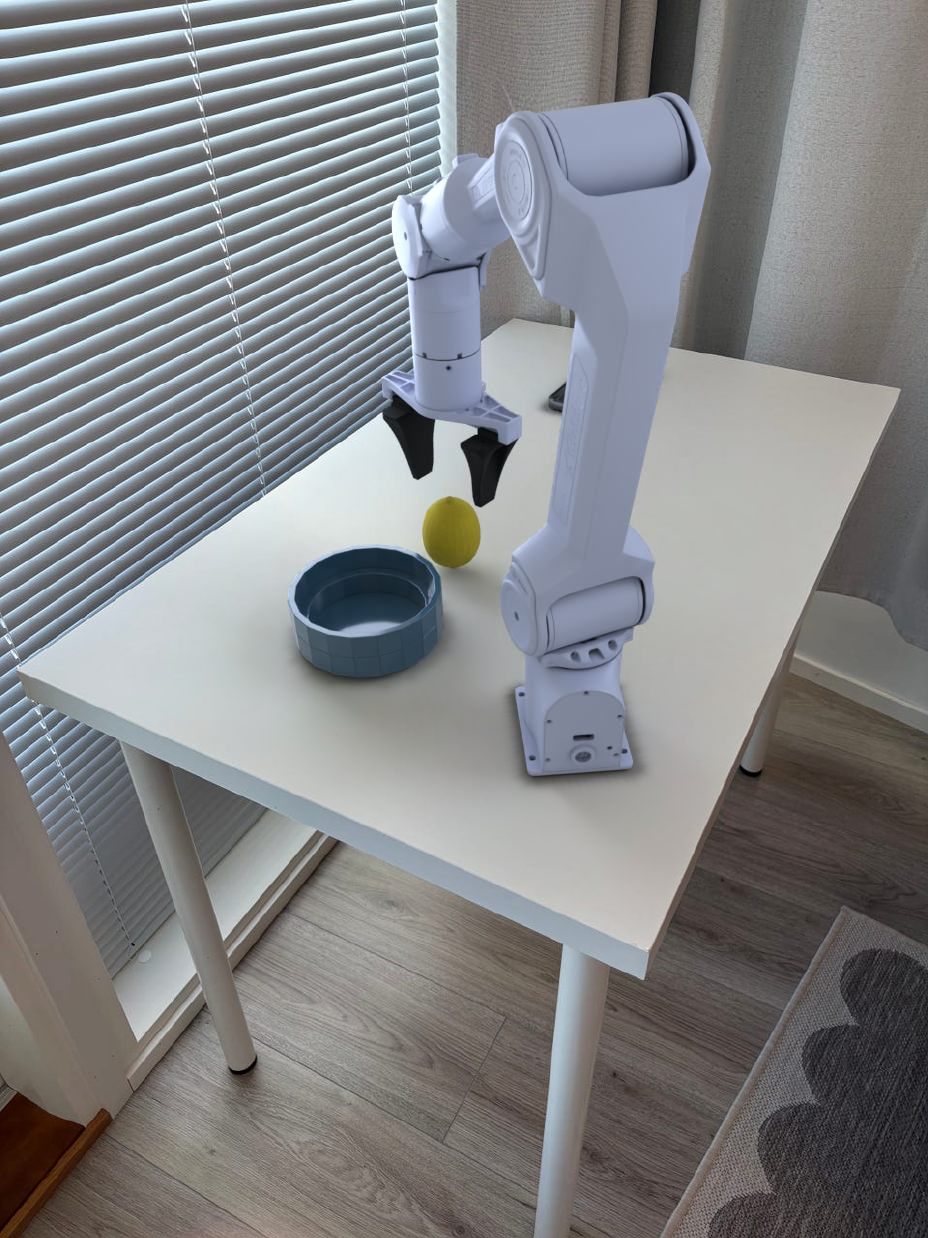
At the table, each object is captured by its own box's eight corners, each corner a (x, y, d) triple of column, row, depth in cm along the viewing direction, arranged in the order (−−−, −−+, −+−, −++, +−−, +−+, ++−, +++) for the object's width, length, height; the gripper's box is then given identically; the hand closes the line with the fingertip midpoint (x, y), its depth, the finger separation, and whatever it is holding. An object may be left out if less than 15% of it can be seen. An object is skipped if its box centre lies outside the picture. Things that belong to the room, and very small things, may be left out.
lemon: (475, 587, 90) (473, 516, 85) (418, 581, 91) (413, 510, 86) (486, 553, 94) (484, 484, 89) (431, 548, 95) (427, 479, 90)
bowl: (447, 676, 80) (445, 631, 77) (291, 687, 80) (282, 642, 77) (440, 583, 91) (437, 540, 87) (301, 592, 90) (293, 549, 87)
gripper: (545, 352, 77) (542, 495, 86) (416, 311, 85) (425, 447, 93) (489, 382, 73) (492, 530, 82) (359, 337, 81) (373, 476, 89)
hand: (453, 488), depth 87 cm, fingers open, 7 cm apart
